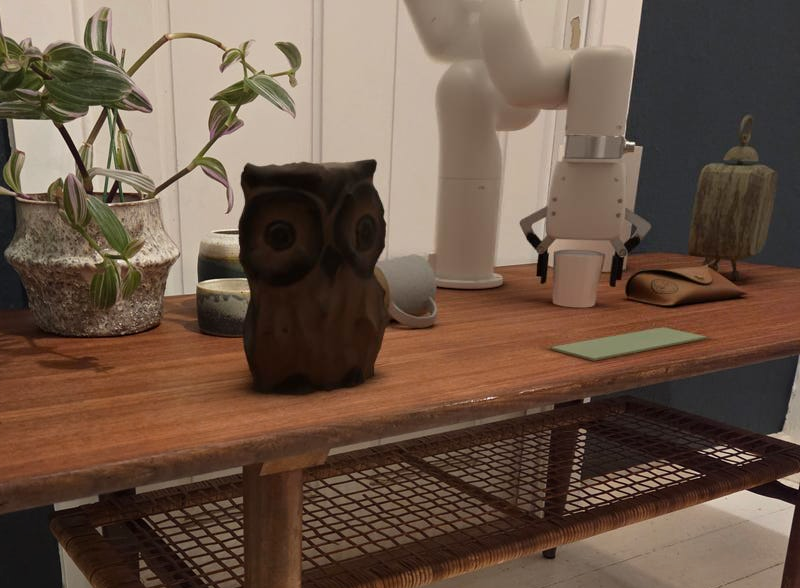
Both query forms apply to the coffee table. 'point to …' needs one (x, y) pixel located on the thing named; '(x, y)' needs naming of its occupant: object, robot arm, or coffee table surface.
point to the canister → (605, 246)
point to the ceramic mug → (408, 289)
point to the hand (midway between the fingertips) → (577, 283)
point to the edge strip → (627, 343)
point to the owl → (312, 275)
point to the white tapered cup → (576, 277)
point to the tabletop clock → (732, 207)
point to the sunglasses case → (680, 286)
